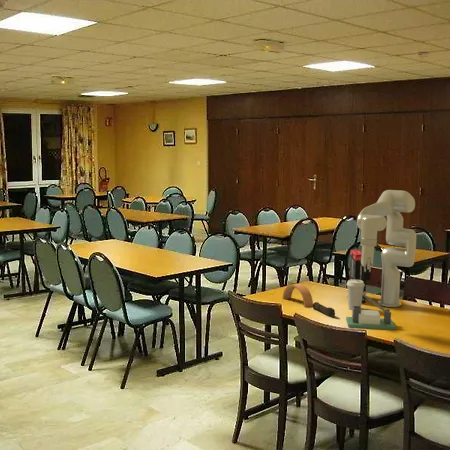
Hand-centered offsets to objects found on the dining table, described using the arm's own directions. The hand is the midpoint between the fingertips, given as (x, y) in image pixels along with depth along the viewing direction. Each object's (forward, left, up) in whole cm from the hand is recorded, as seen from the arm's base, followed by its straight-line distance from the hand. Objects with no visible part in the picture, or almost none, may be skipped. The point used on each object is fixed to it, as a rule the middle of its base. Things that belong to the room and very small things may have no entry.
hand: (366, 279), depth 294 cm
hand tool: (-16, -18, -23) cm, 33 cm away
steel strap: (+1, +4, -12) cm, 13 cm away
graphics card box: (-48, +1, -22) cm, 53 cm away
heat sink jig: (+1, +3, -22) cm, 22 cm away
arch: (-36, -33, -23) cm, 53 cm away
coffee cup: (-28, -2, -22) cm, 36 cm away
